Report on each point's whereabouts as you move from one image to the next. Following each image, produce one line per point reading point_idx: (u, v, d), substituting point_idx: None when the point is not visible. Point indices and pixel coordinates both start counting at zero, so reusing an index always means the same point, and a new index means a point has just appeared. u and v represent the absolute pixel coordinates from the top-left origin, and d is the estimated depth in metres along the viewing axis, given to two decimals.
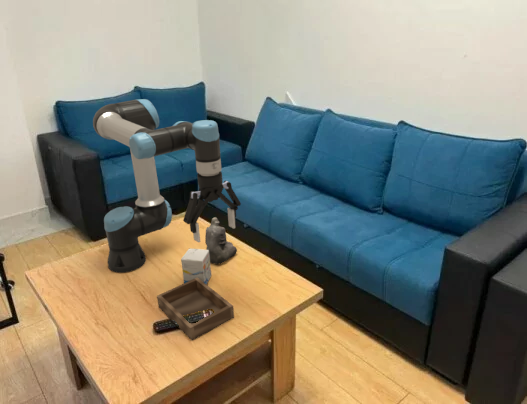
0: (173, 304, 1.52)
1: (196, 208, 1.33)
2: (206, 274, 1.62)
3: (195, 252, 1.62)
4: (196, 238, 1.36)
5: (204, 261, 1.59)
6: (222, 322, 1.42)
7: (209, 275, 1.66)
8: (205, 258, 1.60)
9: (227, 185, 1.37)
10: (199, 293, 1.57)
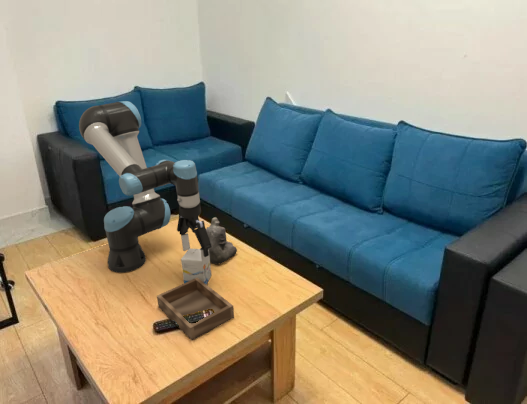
0: (173, 304, 1.52)
1: None
2: (206, 274, 1.62)
3: (195, 252, 1.62)
4: None
5: None
6: (222, 322, 1.42)
7: (209, 275, 1.66)
8: None
9: None
10: (199, 293, 1.57)
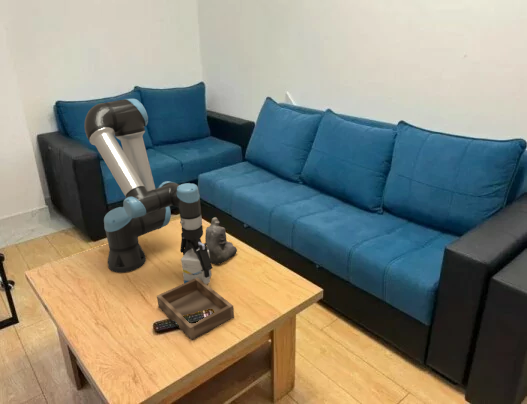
0: (173, 304, 1.52)
1: None
2: None
3: None
4: None
5: None
6: (222, 322, 1.42)
7: None
8: None
9: None
10: (199, 293, 1.57)
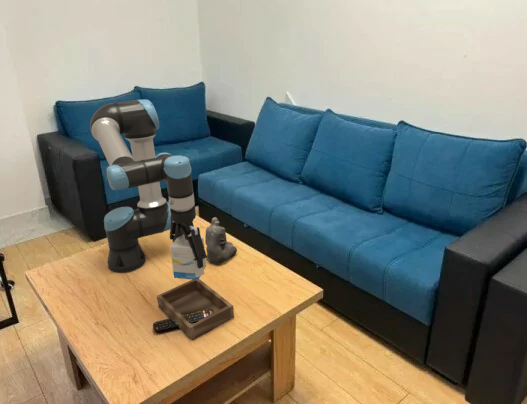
0: (173, 304, 1.52)
1: None
2: None
3: None
4: None
5: None
6: (222, 322, 1.42)
7: (203, 266, 1.41)
8: None
9: None
10: (199, 293, 1.57)
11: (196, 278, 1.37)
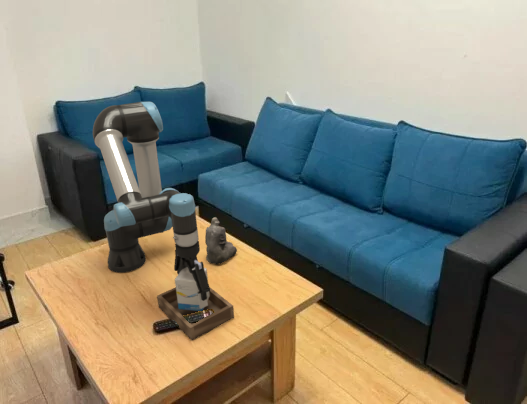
0: (173, 304, 1.52)
1: None
2: None
3: None
4: None
5: None
6: (222, 322, 1.42)
7: (207, 296, 1.46)
8: None
9: None
10: None
11: (200, 309, 1.42)
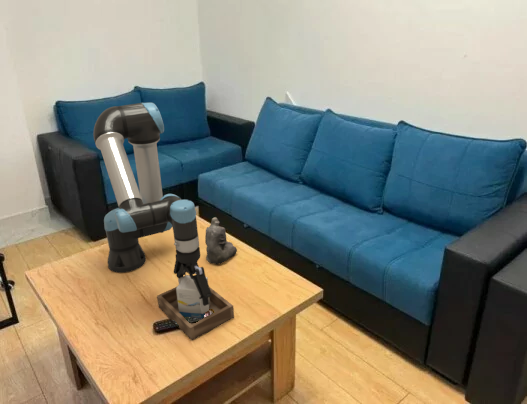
0: (173, 304, 1.52)
1: None
2: None
3: (192, 280, 1.44)
4: None
5: None
6: (222, 322, 1.42)
7: None
8: None
9: None
10: None
11: None
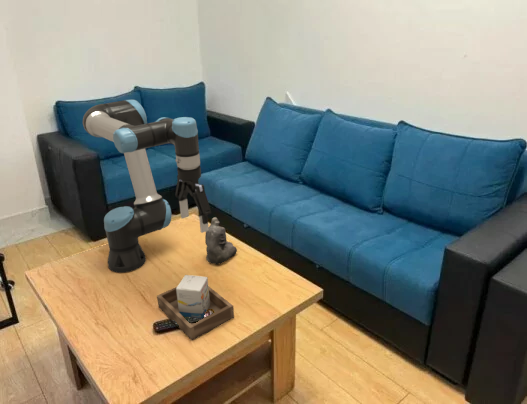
0: (173, 304, 1.52)
1: None
2: (205, 304, 1.45)
3: (192, 280, 1.44)
4: None
5: (202, 291, 1.41)
6: (222, 322, 1.42)
7: (208, 305, 1.48)
8: (203, 287, 1.42)
9: None
10: None
11: None
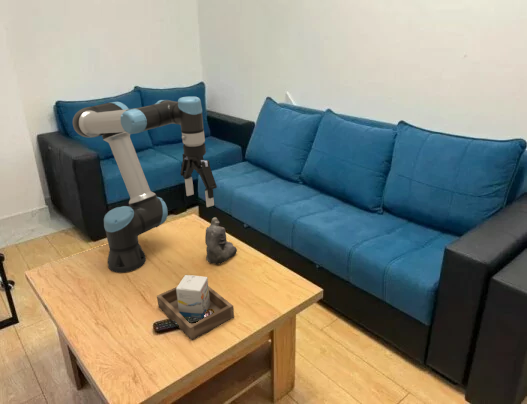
0: (173, 304, 1.52)
1: None
2: (205, 304, 1.45)
3: (192, 280, 1.44)
4: None
5: (202, 291, 1.41)
6: (222, 322, 1.42)
7: (208, 305, 1.48)
8: (203, 287, 1.42)
9: None
10: None
11: None
